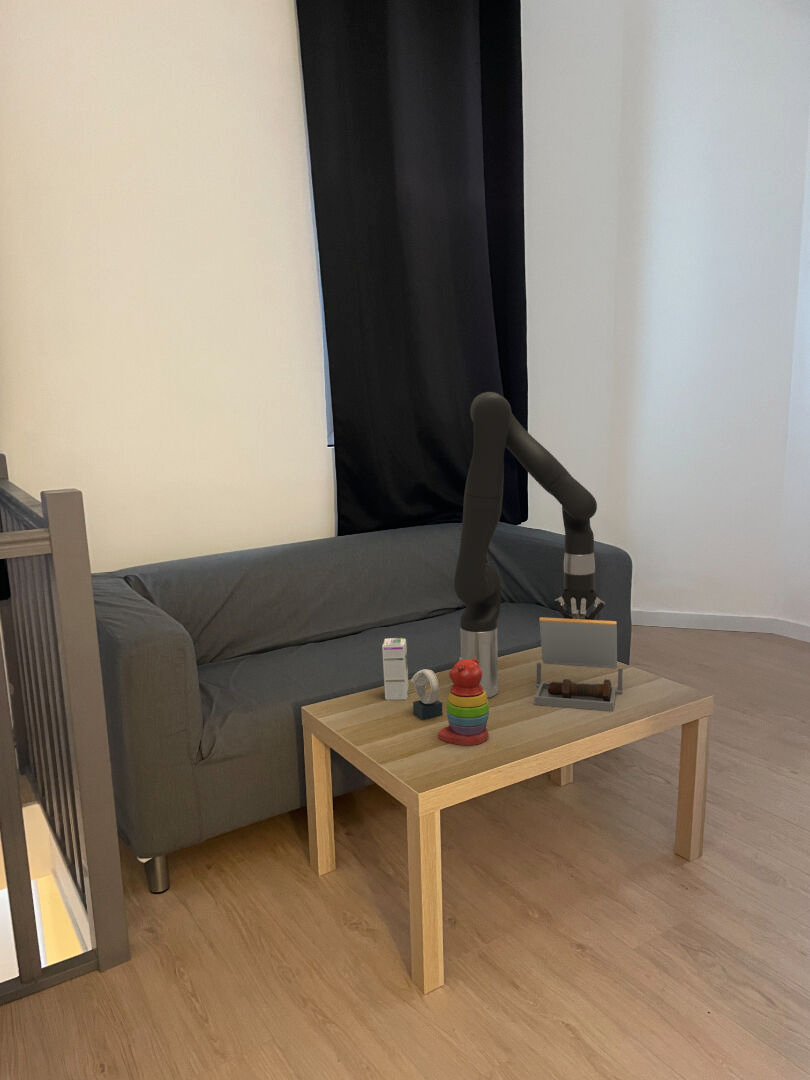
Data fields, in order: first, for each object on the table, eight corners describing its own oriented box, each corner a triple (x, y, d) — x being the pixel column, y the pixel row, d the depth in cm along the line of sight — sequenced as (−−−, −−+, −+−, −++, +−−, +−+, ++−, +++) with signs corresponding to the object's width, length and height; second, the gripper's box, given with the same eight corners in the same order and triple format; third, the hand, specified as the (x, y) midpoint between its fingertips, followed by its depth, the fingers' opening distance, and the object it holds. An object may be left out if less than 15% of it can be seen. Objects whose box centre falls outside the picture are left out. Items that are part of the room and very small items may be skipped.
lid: (539, 620, 206) (539, 617, 207) (542, 664, 214) (543, 661, 215) (616, 624, 200) (616, 621, 201) (616, 669, 208) (617, 666, 209)
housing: (528, 704, 202) (528, 680, 201) (537, 683, 216) (537, 661, 215) (619, 711, 196) (619, 687, 195) (622, 689, 209) (622, 667, 208)
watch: (429, 706, 203) (428, 663, 200) (446, 717, 196) (445, 673, 194) (409, 711, 200) (407, 668, 198) (425, 722, 193) (424, 678, 191)
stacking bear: (467, 723, 192) (465, 649, 189) (500, 735, 185) (499, 659, 181) (433, 737, 185) (431, 661, 182) (467, 750, 178) (465, 671, 174)
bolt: (549, 701, 207) (611, 705, 202) (546, 698, 202) (609, 702, 197) (550, 678, 208) (611, 681, 203) (547, 674, 204) (609, 677, 199)
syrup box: (407, 700, 207) (405, 644, 205) (384, 700, 208) (381, 644, 205) (408, 691, 213) (407, 637, 210) (386, 691, 213) (384, 637, 211)
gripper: (550, 572, 203) (550, 639, 207) (605, 574, 199) (605, 643, 203) (554, 565, 210) (554, 630, 214) (607, 567, 206) (607, 633, 210)
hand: (579, 636), depth 208 cm, fingers closed
